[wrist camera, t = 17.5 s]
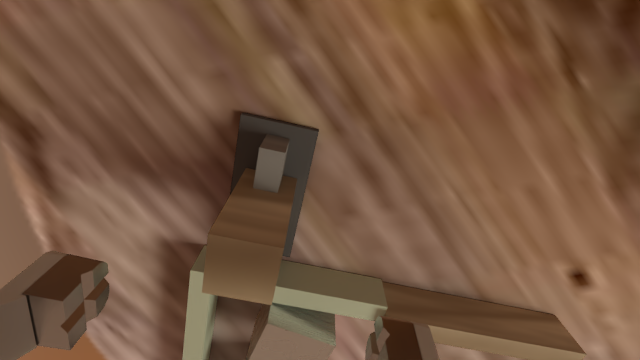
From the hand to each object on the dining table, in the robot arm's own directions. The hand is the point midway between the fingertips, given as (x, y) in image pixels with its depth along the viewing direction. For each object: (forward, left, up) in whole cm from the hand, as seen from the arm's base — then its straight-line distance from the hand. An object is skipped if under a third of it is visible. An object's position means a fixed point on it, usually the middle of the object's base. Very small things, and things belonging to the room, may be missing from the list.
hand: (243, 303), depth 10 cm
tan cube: (+9, +2, -10) cm, 13 cm away
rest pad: (+1, -1, -10) cm, 10 cm away
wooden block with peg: (+1, -1, -9) cm, 9 cm away
